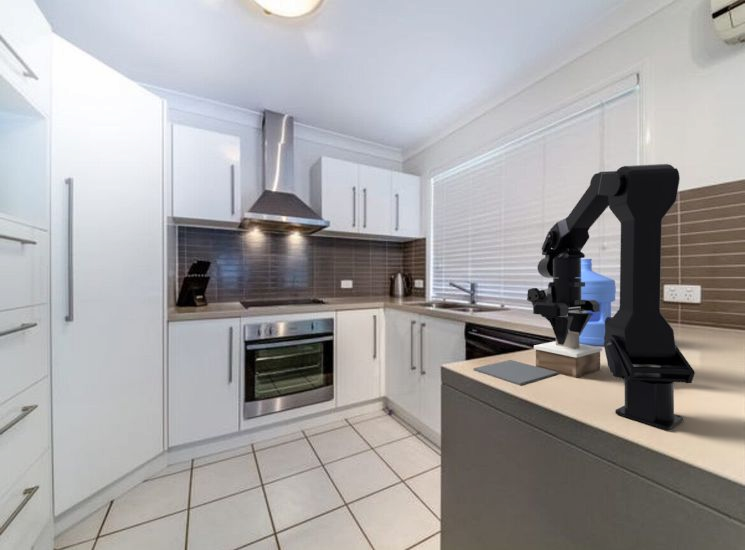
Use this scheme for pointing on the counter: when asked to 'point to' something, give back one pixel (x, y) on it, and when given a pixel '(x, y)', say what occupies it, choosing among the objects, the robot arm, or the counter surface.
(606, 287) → the water jug
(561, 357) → the box
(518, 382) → the mat
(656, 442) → the counter surface
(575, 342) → the lid
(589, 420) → the counter surface
